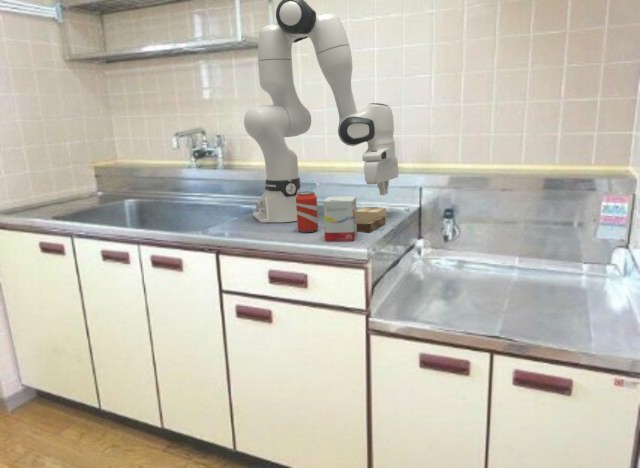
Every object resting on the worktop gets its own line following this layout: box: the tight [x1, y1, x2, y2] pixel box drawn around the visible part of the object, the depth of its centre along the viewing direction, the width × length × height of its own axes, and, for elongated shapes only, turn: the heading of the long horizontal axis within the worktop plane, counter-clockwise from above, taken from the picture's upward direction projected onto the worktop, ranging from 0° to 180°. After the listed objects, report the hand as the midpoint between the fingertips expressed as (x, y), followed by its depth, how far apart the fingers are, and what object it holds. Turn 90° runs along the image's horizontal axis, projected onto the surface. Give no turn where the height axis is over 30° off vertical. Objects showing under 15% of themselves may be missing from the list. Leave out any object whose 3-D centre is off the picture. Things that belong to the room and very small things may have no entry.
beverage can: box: [296, 190, 319, 233], centre depth 154 cm, size 6×6×12 cm
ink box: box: [322, 195, 358, 242], centre depth 143 cm, size 9×9×12 cm
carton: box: [356, 206, 387, 223], centre depth 163 cm, size 8×8×4 cm
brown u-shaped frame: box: [357, 216, 386, 234], centre depth 156 cm, size 12×12×2 cm
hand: (383, 194), depth 168 cm, fingers closed
